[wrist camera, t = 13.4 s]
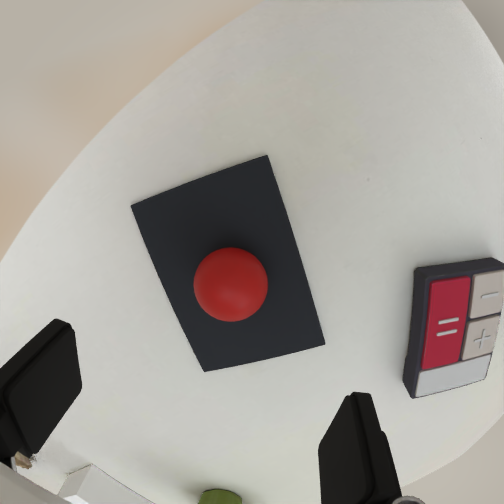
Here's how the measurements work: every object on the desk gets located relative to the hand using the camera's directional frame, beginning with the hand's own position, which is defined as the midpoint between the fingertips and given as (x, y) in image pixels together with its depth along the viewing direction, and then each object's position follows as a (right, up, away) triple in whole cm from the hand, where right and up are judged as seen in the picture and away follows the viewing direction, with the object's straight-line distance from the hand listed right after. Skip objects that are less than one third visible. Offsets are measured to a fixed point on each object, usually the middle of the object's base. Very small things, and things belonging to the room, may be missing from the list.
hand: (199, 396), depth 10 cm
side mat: (0, +2, +22) cm, 22 cm away
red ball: (0, +2, +18) cm, 18 cm away
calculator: (+24, -3, +22) cm, 33 cm away
